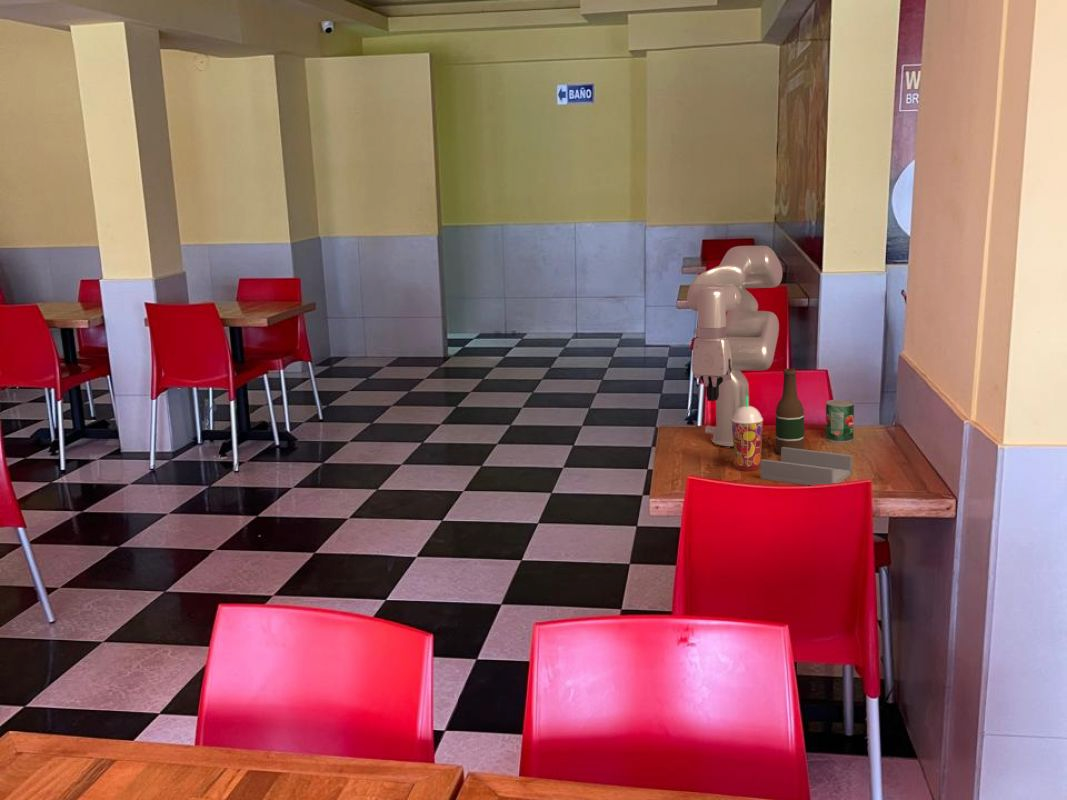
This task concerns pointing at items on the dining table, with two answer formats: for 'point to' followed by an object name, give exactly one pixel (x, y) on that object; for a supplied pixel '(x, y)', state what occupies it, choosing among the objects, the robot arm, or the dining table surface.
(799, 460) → the cradle
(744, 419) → the smoothie
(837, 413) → the canned tomato
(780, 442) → the beer bottle
